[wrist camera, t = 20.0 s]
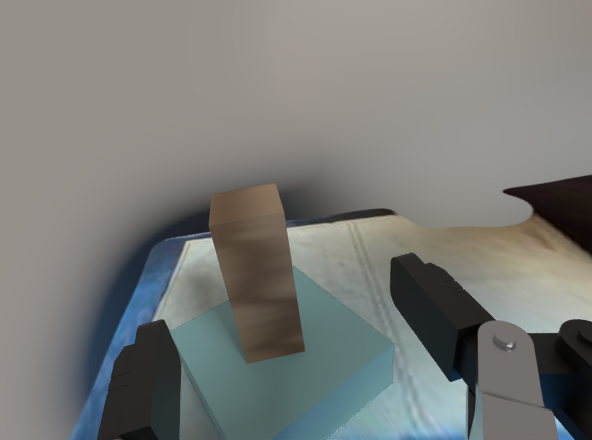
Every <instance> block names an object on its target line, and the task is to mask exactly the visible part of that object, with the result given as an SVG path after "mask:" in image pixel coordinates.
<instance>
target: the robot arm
mask: <svg viewBox="0 0 592 440" xmlns="http://www.w3.org/2000/svg"><path fill="white" fill-rule="evenodd" d="M390 292H391V297H392V300H393V302H394V304H395V306H396V308H397V309H398V310H399V312H400V313H401V315H402V316H403V317H404V319H405V320H406V322H407V323H408V324H409V326H410V327H411V329H412V330H413V331H414V333H415V334H416V335H417V337H418V338H419V340H420V341H421V342H422V344H423V345H424V347H425V348H426V349H427V351H428V352H429V354H430V355H431V356H432V358H433V359H434V361H435V362H436V363H437V365H438V366H439V367H440V369H441V370H442V372H443V373H444V374H445V376H446V377H447V379H448V380H449V381H450V382H452V381H455V380H458V379H461V378H462V379H463V380H464V381H465V383H466V384H467V390H466V438H465V440H559V439H558V434H557V428H556V423H555V418H554V416H555V417H556V418H557V419H558V420H559V422H560V423H561V424H562V425H563V426H564V427H565V429H566V430H567V431H568V432H569V433H570V435H571V436H572V437H573V438H574V439H575V440H592V322H591V321H587V320H580V319H573V320H569V321H566V322H564V323H563V324H562V325H561V328H560V330H559V333H526V332H525V331H524V330H523V329H521V328H520V327H518V326H516V325H514V324H511V323H509V322H505V321H496V320H495V319H494V318H493V317H492V316H491V315H490V314H489V313H488V312H487V311H486V310H485V309H484V308H483V307H482V306H481V305H480V304H479V303H478V302H477V301H476V300H475V299H474V298H473V297H472V296H471V295H470V294H469V293H468V292H467V291H466V290H465V289H464V290H463V288H462V286H461V285H460V284H458V283H457V282H455V281H454V279H453V278H452V277H451V276H450V275H449V274H448V273H447V272H446V271H445V270H444V269H442V268H440V267H438V266H436V265H434V264H432V263H427V264H424V263H423V262H422V261H421V260H420V259H419V258H418V257H417V255H415V254H414V253H409V254H405V255H401V256H397V257H394V258H392V259H391V272H390ZM180 389H181V362H180V357H179V353H178V350H177V347H176V345H175V343H174V341H173V338H172V336H171V334H170V331H169V329H168V327H167V325H166V323H165V321H164V320H163V319H161V320H158V321H154V322H150V323H147V324H143V325H140V326H138V328H137V333H136V339H135V344H132V345H128V346H125V347H124V348H123V349H122V351H121V352H120V354H119V356H118V357H117V359H116V360H115V362H114V366H113V370H112V375H111V381H110V384H109V388H108V394H107V397H106V402H105V406H104V411H103V415H102V420H101V424H100V429H99V433H98V437H97V440H179V427H180Z"/></svg>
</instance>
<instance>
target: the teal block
mask: <svg viewBox="0 0 592 440" xmlns="http://www.w3.org/2000/svg"><path fill="white" fill-rule="evenodd" d="M292 268H293V274H294V281H295V287H296V294H297V301H298V307H299V314H300V320H301V327H302V333H303V340H304V346H305V351H304V352H299V353H295V354H290V355H286V356H281V357H277V358H272V359H268V360H263V361H259V362H254V363H250V364H247V361H246V358H245V354H244V351H243V347H242V343H241V340H240V336H239V333H238V329H237V325H236V322H235V318H234V315H233V311H232V307H231V304H230V300H228V301H226V302H225V303H223V304H221V305H219V306H217V307H215V308H213V309H211V310H210V311H208V312H206V313H204V314H202V315H200V316H198V317H196V318H194V319H193V320H191V321H189V322H187V323H185V324H183V325H181V326H179V327H177V328H176V329H174V330H172V331H170V334H171V336H172V338H173V341H174V343H175V345H176V347H177V350H178V353H179V357H180V360H181V362H182V364H183V367H184V369H185V371H186V373H187V375H188V376H189V378H190V380H191V382H192V384H193V386H194V388H195V390H196V392H197V393H198V395H199V397H200V399H201V401H202V403H203V405H204V407H205V409H206V411H207V412H208V414H209V416H210V418H211V420H212V422H213V424H214V426H215V428H216V429H217V431H218V433H219V435H220V437H221V439H222V440H326V439H327V438H328V437H329V436H330V435H331V434H333V433H334V432H335V431H336V430H337V429H338V428H340V427H341V426H342V425H343V424H344V423H346V422H347V421H348V420H349V419H350V418H351V417H353V416H354V415H355V414H356V413H357V412H358V411H360V410H361V409H362V408H363V407H364V406H366V405H367V404H368V403H369V402H370V401H371V400H373V399H374V398H375V397H376V396H377V395H379V394H380V393H381V392H382V391H383V390H384V389H386V388H387V387H388V386H389V385H390V384H391V383H393V357H394V343H392V342H391V341H390V340H389V339H387V338H386V337H385V336H383V335H382V334H381V333H380V332H378V331H377V330H376V329H374V328H373V327H372V326H371V325H369V324H368V323H367V322H365V321H364V320H363V319H362V318H360V317H359V316H358V315H356V314H355V313H354V312H353V311H351V310H350V309H349V308H347V307H346V306H345V305H344V304H342V303H341V302H340V301H338V300H337V299H336V298H335V297H333V296H332V295H331V294H329V293H328V292H327V291H326V290H324V289H323V288H322V287H320V286H319V285H318V284H316V283H315V282H314V281H313V280H311V279H310V278H309V277H307V276H306V275H305V274H304V273H302V272H301V271H300V270H298V269H297V268H296V267H295V266H292Z"/></svg>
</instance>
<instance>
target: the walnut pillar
mask: <svg viewBox="0 0 592 440" xmlns="http://www.w3.org/2000/svg"><path fill="white" fill-rule="evenodd" d="M209 228H210V232H211V236H212V239H213V243H214V246H215V250H216V254H217V257H218V261H219V264H220V268H221V272H222V275H223V279H224V282H225V286H226V290H227V293H228V297H229V300H230V304H231V307H232V311H233V315H234V318H235V322H236V325H237V329H238V333H239V336H240V340H241V343H242V347H243V351H244V354H245V358H246V361H247V364H250V363H254V362H259V361H263V360H268V359H272V358H277V357H281V356H286V355H290V354H295V353H299V352H304V351H305V346H304V340H303V333H302V327H301V320H300V314H299V307H298V301H297V294H296V287H295V281H294V274H293V268H292V261H291V255H290V248H289V242H288V235H287V228H286V222H285V216H284V211H283V208H282V204H281V201H280V197H279V194H278V191H277V188H276V184H275V183H273V184H268V185H262V186H256V187H251V188H246V189H240V190H234V191H228V192H223V193H218V194H212V196H211V207H210V219H209Z"/></svg>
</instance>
